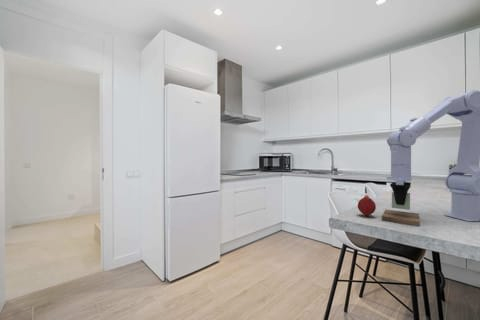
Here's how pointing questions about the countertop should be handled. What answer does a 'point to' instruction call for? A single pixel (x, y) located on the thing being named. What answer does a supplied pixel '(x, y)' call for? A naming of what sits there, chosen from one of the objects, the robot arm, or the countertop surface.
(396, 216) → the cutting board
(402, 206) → the cube
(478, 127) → the robot arm
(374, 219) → the countertop surface
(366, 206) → the onion
